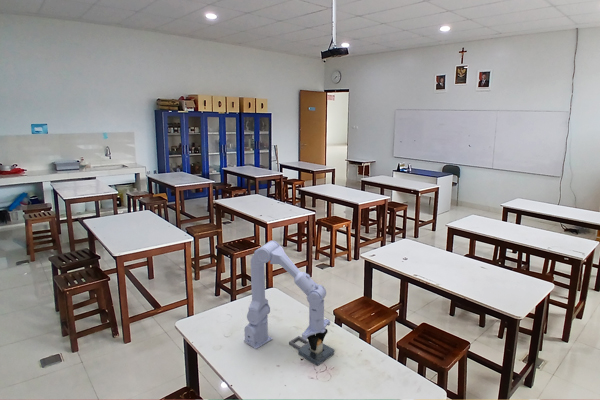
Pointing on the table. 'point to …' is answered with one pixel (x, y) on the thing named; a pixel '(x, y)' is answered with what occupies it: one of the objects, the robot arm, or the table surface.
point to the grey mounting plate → (297, 340)
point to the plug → (318, 347)
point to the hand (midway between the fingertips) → (316, 347)
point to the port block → (314, 357)
